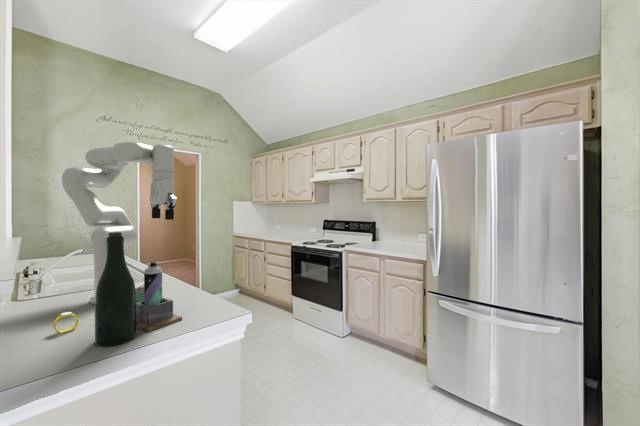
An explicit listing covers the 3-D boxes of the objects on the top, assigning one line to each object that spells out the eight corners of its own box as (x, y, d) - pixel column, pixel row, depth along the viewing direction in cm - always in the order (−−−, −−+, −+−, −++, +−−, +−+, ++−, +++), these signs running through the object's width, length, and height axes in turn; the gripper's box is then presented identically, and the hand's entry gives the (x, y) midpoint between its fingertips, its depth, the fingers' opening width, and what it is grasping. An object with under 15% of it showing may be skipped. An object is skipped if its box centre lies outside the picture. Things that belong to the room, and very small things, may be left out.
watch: (76, 328, 95) (77, 310, 96) (78, 330, 94) (79, 312, 94) (52, 332, 91) (53, 314, 91) (53, 335, 89) (55, 316, 89)
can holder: (125, 323, 99) (125, 303, 99) (159, 312, 109) (159, 294, 109) (148, 332, 92) (147, 311, 92) (182, 319, 102) (182, 300, 102)
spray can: (142, 318, 101) (141, 262, 100) (159, 314, 105) (158, 260, 104) (147, 322, 97) (146, 264, 96) (164, 318, 101) (164, 262, 100)
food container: (142, 316, 104) (142, 290, 104) (128, 315, 106) (128, 288, 105) (166, 305, 117) (166, 281, 116) (153, 304, 118) (153, 280, 118)
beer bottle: (90, 340, 86) (89, 232, 86) (130, 328, 95) (129, 229, 94) (100, 351, 80) (98, 234, 79) (141, 338, 88) (141, 232, 87)
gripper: (142, 176, 115) (141, 218, 116) (165, 174, 106) (165, 220, 107) (160, 177, 122) (160, 217, 122) (184, 176, 113) (184, 219, 113)
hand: (162, 218), depth 115 cm, fingers open, 9 cm apart
